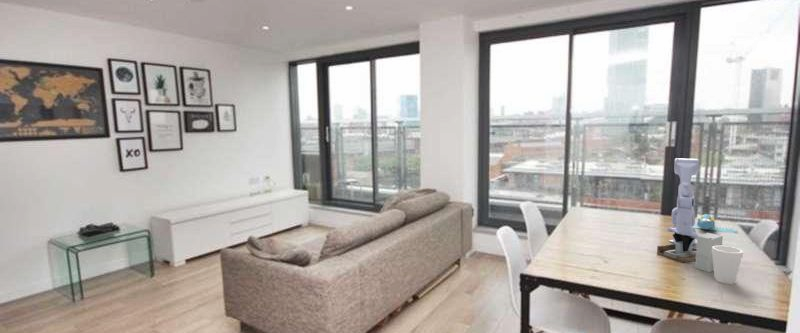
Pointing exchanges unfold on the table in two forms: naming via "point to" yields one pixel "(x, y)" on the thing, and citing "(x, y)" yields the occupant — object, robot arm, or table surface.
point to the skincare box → (706, 251)
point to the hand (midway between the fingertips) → (682, 250)
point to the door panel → (680, 247)
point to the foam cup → (726, 263)
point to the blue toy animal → (710, 224)
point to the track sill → (670, 253)
